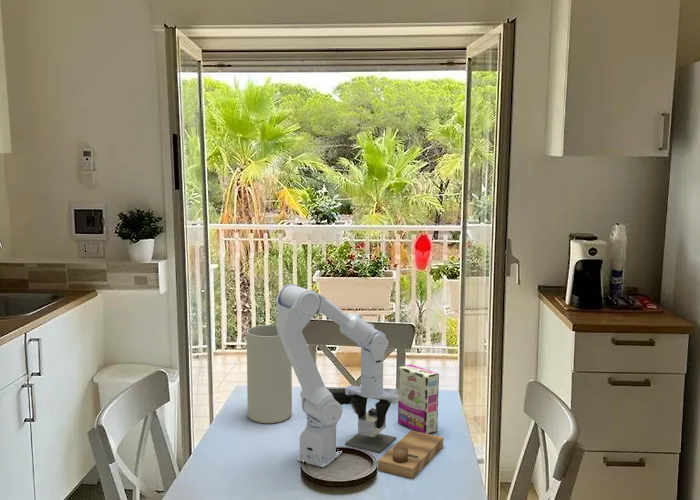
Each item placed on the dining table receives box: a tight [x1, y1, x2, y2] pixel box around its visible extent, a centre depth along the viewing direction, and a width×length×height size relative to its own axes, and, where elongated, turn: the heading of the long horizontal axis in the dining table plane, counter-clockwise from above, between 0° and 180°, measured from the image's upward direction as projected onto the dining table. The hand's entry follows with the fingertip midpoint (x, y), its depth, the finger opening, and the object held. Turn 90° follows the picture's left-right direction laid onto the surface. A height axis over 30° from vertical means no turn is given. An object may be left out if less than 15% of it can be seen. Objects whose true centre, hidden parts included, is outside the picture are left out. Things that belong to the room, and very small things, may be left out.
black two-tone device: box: [327, 387, 357, 414], centre depth 203 cm, size 3×20×16 cm
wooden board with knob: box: [377, 429, 444, 480], centre depth 167 cm, size 20×9×5 cm, turn 152°
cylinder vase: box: [246, 324, 293, 424], centre depth 192 cm, size 12×12×25 cm
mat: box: [344, 432, 397, 454], centre depth 177 cm, size 10×10×1 cm
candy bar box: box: [397, 364, 440, 435], centre depth 185 cm, size 11×5×16 cm, turn 39°
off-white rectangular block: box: [357, 407, 387, 437], centre depth 177 cm, size 7×4×5 cm, turn 152°
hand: (371, 425), depth 176 cm, fingers closed on off-white rectangular block, 4 cm apart
